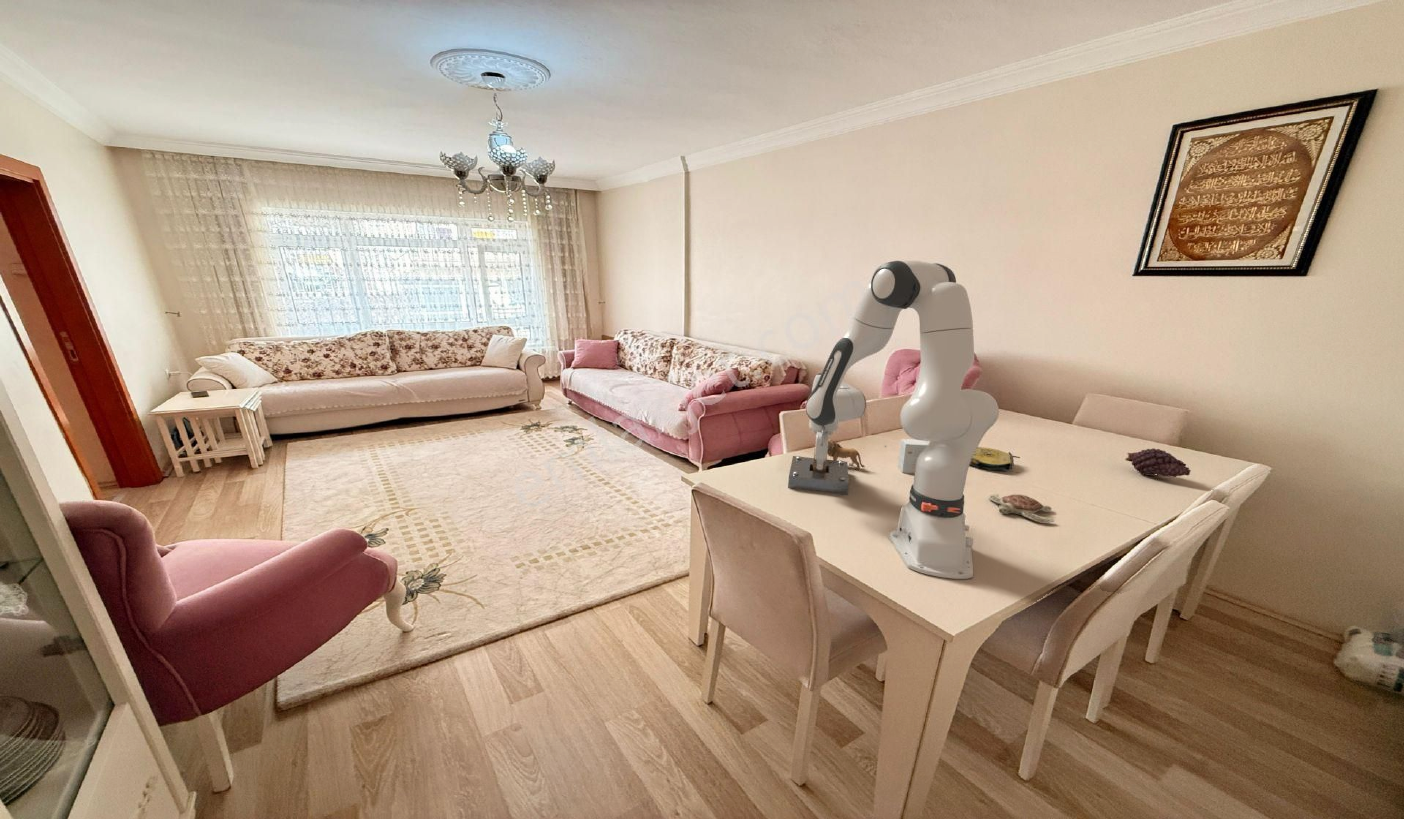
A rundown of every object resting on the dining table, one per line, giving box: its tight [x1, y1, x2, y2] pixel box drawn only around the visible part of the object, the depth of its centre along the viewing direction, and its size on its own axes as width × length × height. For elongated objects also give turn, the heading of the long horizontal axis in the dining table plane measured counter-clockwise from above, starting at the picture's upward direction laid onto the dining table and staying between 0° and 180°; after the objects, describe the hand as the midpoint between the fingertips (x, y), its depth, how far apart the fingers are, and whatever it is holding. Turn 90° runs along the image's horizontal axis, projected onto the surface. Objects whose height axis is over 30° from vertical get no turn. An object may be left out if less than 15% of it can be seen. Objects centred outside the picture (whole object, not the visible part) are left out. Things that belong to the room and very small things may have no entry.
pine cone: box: [1124, 447, 1191, 478], centre depth 168 cm, size 18×10×10 cm, turn 27°
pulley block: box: [969, 446, 1021, 474], centre depth 179 cm, size 14×6×30 cm
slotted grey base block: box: [787, 455, 850, 496], centre depth 160 cm, size 18×18×5 cm
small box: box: [897, 438, 929, 474], centre depth 169 cm, size 8×6×10 cm
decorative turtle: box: [988, 493, 1055, 524], centre depth 142 cm, size 18×17×5 cm
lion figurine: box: [827, 439, 866, 470], centre depth 172 cm, size 15×5×9 cm, turn 74°
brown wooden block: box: [813, 450, 828, 473], centre depth 159 cm, size 4×4×10 cm
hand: (819, 463), depth 159 cm, fingers open, 8 cm apart
